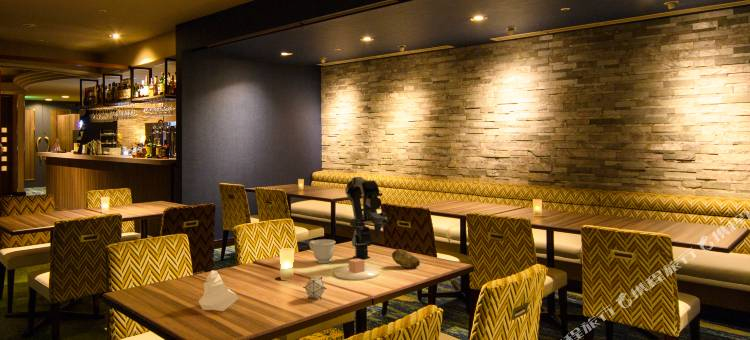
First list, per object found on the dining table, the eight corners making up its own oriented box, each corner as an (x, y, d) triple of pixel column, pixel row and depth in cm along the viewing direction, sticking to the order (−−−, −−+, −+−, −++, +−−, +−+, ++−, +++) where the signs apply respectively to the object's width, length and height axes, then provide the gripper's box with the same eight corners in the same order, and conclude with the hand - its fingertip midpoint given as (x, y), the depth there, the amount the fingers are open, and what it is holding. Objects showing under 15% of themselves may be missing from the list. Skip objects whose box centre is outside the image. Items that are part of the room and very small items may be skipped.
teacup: (318, 257, 275) (317, 237, 274) (340, 261, 266) (340, 241, 266) (301, 261, 265) (301, 241, 265) (324, 266, 257) (324, 245, 256)
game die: (316, 309, 205) (314, 293, 199) (300, 298, 209) (297, 282, 203) (332, 293, 211) (330, 277, 204) (315, 282, 215) (313, 266, 208)
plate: (325, 273, 244) (325, 270, 244) (361, 266, 256) (361, 263, 256) (351, 282, 228) (351, 279, 228) (388, 274, 240) (388, 272, 240)
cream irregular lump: (205, 319, 189) (192, 281, 188) (201, 310, 203) (189, 274, 201) (240, 305, 194) (228, 268, 192) (233, 297, 208) (222, 262, 206)
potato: (411, 270, 247) (410, 253, 246) (389, 266, 255) (389, 249, 254) (421, 267, 253) (421, 250, 252) (400, 263, 261) (400, 246, 261)
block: (349, 271, 242) (348, 260, 242) (358, 269, 245) (358, 258, 245) (355, 273, 238) (355, 262, 238) (364, 271, 241) (364, 260, 241)
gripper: (363, 210, 247) (363, 244, 248) (394, 206, 258) (394, 239, 260) (349, 207, 256) (349, 240, 257) (380, 204, 267) (380, 235, 268)
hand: (369, 238), depth 260 cm, fingers open, 9 cm apart
